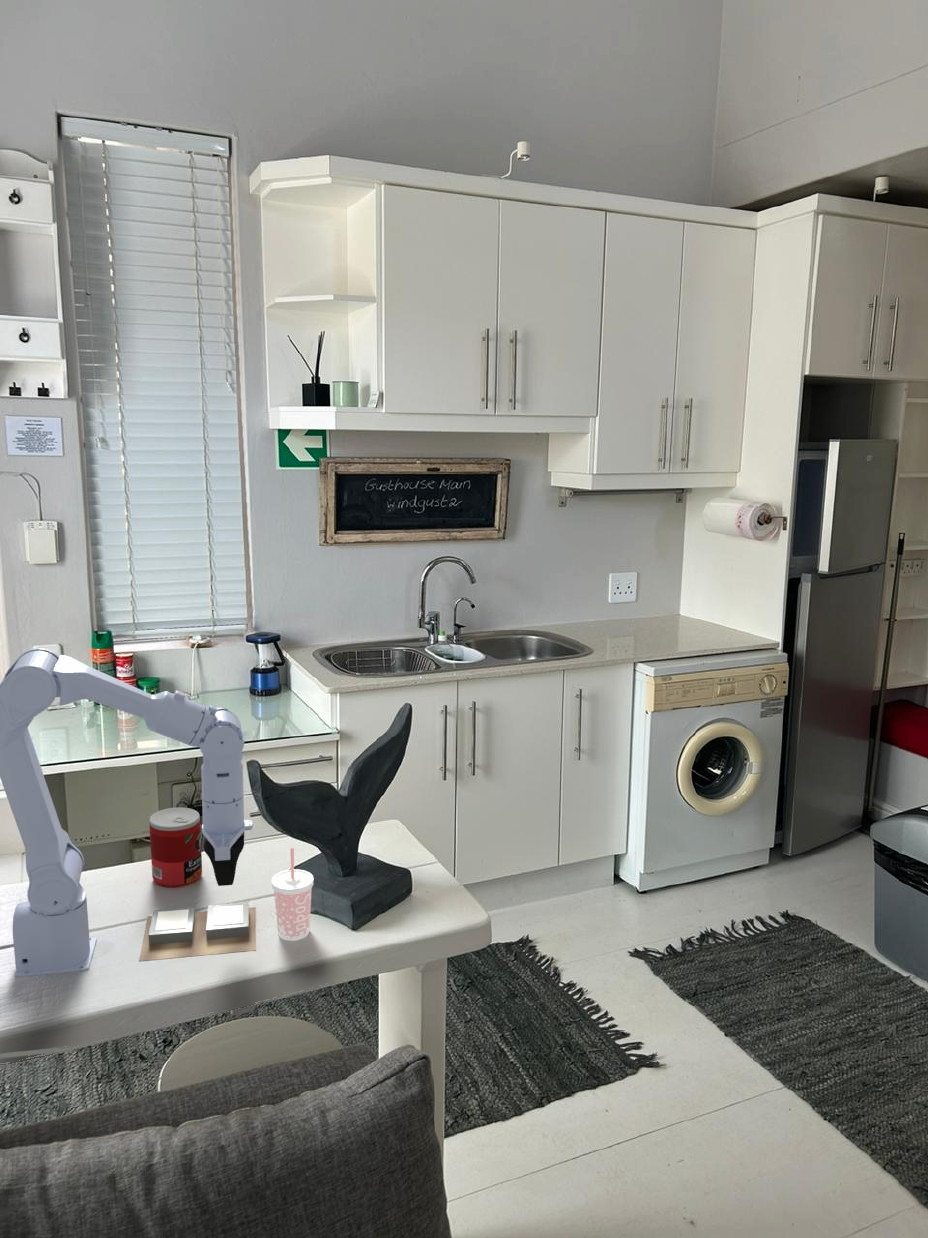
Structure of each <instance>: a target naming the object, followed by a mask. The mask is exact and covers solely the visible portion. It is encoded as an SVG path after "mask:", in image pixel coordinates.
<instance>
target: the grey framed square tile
mask: <svg viewBox="0 0 928 1238" xmlns="http://www.w3.org/2000/svg"><path fill="white" fill-rule="evenodd" d="M195 912H196V908H195V906H185V907H184V906H183V907H175V908H174V907H173V908H160V909H153V910H152V915H151V916H152V920H151V925H150V930H149V945H156V944H167V943H178V942H189V941H192V940H193V931H194V921H195Z"/></svg>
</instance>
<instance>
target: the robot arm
mask: <svg viewBox="0 0 928 1238" xmlns="http://www.w3.org/2000/svg"><path fill="white" fill-rule="evenodd" d="M56 698H59V703H58V704H59V706H60V707H61V706H65V705H68V704H72V703H75V702H79V701H81V700H88V701H91V702H94V703H97V704H100V705H102V706H105V707H110V708H113V709H116V710H118V711H121V712H125V713H127V714H130V715H132V716H136V717H139V718H142V719H143V720H144V723H145V725H146V727H147V729H148V730H149V731H151V732H153V733H156V734H159V735H162V736H164V737H167V738H169V739H172V740H174V741H177V742H180V743H182V744H185V745H187V746H190V747H196V748H199V750H200V752H201V754H202V764H201V767H200V771H201V772H200V773H201V775H200V776H201V800H202V801H201V802H202V804H201V806H202V824H201V834H202V835H203V836H204V837H203V838H204V840H203V850H204V852H205V854H206V855H207V857H208V858H209V861H210V862H211V865H212V868H213V872H214V877H215V881H216V883H217V886H218V887H224V886H226V887H227V886H233V884H234V881H235V876H236V871H237V870H236V868H237V864H238V860H239V857H240V855H241V852H242V851H243V849H244V847H245V832H246V831H251V830H253V825H254V824H253V823H254V822H253V820H251V819H245V801H244V798H245V797H244V792H245V791H244V765H243V762H242V759H243V752H242V751H243V750H244V746H245V740H244V735H243V731H242V725H241V722H240V719H239V718H238V716H237V715H236V714H235V713H234V712H233V711H230V710H229V709H227V708H226V707H216V706H214V705H212V704H211V705H209V707H208V706H206V705H203V704H200V703H197V702H195V701H193V700H191V699H187V698H185V693H184V692H182V691H180V690H175V691H174V693H173V692H170V691H167V690H164V691H162V692H158V693H155V694H151V693H149V692H147V691H144V690H142V689H140V688H138V687H135V686H133V685H131V684H129V683H126V682H125V681H122V680H120V679H118V678H116V677H113V676H112V675H109V674H108V673H107V674H106V673H104V672H102V671H100V670H98V669H95V668H94V667H91V666H89V665H87V664H85V663H83V662H81V661H79V660H77V659H75V658H73V657H71V656H68V655H64V654H60V655H58V654H56V652H54V651H52V650H50V649H46V648H40V647H39V648H31V649H29V650H26V651H24V652H22V654H20V656H18V658H17V659H16V660H14V662H13V664H12V665H11V666H10V667H9V668H8V670H7V671H6V673H5V675H4V677H2V680H1V682H0V781H1V783H2V786H3V789H4V792H5V794H6V797H7V798H6V799H7V801H8V803H9V806H10V807H9V808H10V809H11V812H12V814H13V817H14V820H15V823H16V826H17V829H18V832H19V834H20V835H19V836H20V838H21V841H22V844H23V846H24V851H25V853H24V854H25V869H26V874H27V876H28V888H27V901H24V902H19V903H17V904H16V906H15V909H14V913H13V917H12V918H13V919H12V941H13V952H14V962H15V963H14V964H15V974H14V977H15V978H18V977H19V978H21V977H30V976H41V975H51V974H52V975H54V974H63V973H64V974H65V973H73V972H84V971H88V970H89V969H90V966H91V962H92V959H93V956H94V952H95V947H96V945H97V941H98V938H97V937H90V928H89V915H88V902H87V901H88V900H87V892H86V890H85V889H84V888H83V886H82V885H81V883H80V880H81V876H82V873H83V870H84V867H85V859H84V855H83V853H82V852H81V850H80V849H79V848H78V847H76V846H75V845H74V844H73V843H72V841H71V839H70V836H69V834H68V832H67V831H65V830H64V829H63V828H62V825H61V822H60V820H59V817H58V814H57V811H56V808H55V804H54V801H53V799H52V796H51V794H50V791H49V787H48V784H47V781H46V779H45V775H44V773H43V769H42V767H41V763H40V760H39V757H38V755H37V754H38V753H37V752H36V748H35V745H34V743H33V740H32V736H31V734H30V731H29V728H28V727H29V726H30V725H31V723H32V722H33V720H34V718H35V717H37V716H38V715H39V714H41V713H43V712H44V711H46V709H48V708H49V707H50V706H52V704H53V703H54V701H55V699H56Z"/></svg>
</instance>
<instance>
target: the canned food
mask: <svg viewBox="0 0 928 1238" xmlns="http://www.w3.org/2000/svg"><path fill="white" fill-rule="evenodd" d="M148 823H149V842H150V843H149V844H150V858H151V859H150V861H151V874H152V875H151V876H152V879H153V882H154V884H156V885H157V886H159V887H162V888H171V889H173V888H176V889H177V888H184V887H188V886H190V885H192V884H193V885H194V884H195V883H196V882H198V881H199V880H200V879H201V878H202V876H203V875H202V874H203V862H202V861H203V857H202V856H203V855H202V824H201V817H200V813H199V811H197V810H195V809H193V808H190V807H189V808H188V807H182V806H181V807H180V806H179V807H168V808H164V809H161V810H158V811H156V812H154V813H152V815H150V817H149V822H148Z"/></svg>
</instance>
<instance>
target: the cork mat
mask: <svg viewBox="0 0 928 1238" xmlns="http://www.w3.org/2000/svg"><path fill="white" fill-rule="evenodd" d="M256 909H257V908H256V907H249V936H245V937H234V938H223V939H212V940H207V938H206V926H207V914H208V910H207V911H206V910H205V911H195V921H194V931H193V940H192V941H189V942H178V943H167V944H156V945H149V930H150V925H151V920H152V915H148V916H147V918H146V924H145V929H144V934H143V939H142V943H141V949H140V954H139V959H138V962H148V961H157V960H167V959H168V960H169V959H170V960H171V959H180V958H181V959H182V958H192V957H199V956H213V955H221V954H231V953H243V952H252V951H253V952H254V951H257V945H256V942H257V939H256V937H257V932H256V931H257V929H256V927H257V921H256V920H257V919H256V916H257V915H256V913H257V912H256Z"/></svg>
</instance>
